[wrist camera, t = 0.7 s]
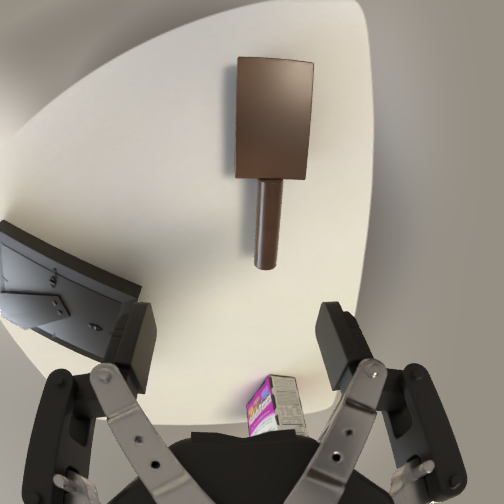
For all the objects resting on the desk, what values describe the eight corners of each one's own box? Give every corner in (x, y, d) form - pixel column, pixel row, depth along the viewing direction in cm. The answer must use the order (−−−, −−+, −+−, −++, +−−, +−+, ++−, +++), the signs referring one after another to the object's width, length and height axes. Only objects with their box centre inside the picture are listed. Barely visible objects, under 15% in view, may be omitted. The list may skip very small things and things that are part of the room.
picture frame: (8, 303, 30) (119, 358, 36) (0, 315, 27) (115, 372, 34) (3, 219, 23) (142, 286, 30) (-10, 230, 21) (136, 302, 27)
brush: (236, 61, 19) (238, 54, 15) (304, 66, 19) (317, 61, 16) (233, 247, 28) (234, 271, 24) (289, 247, 28) (297, 269, 25)
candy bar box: (270, 407, 46) (281, 485, 32) (245, 404, 45) (252, 487, 31) (297, 376, 41) (317, 469, 27) (268, 373, 40) (282, 472, 26)
